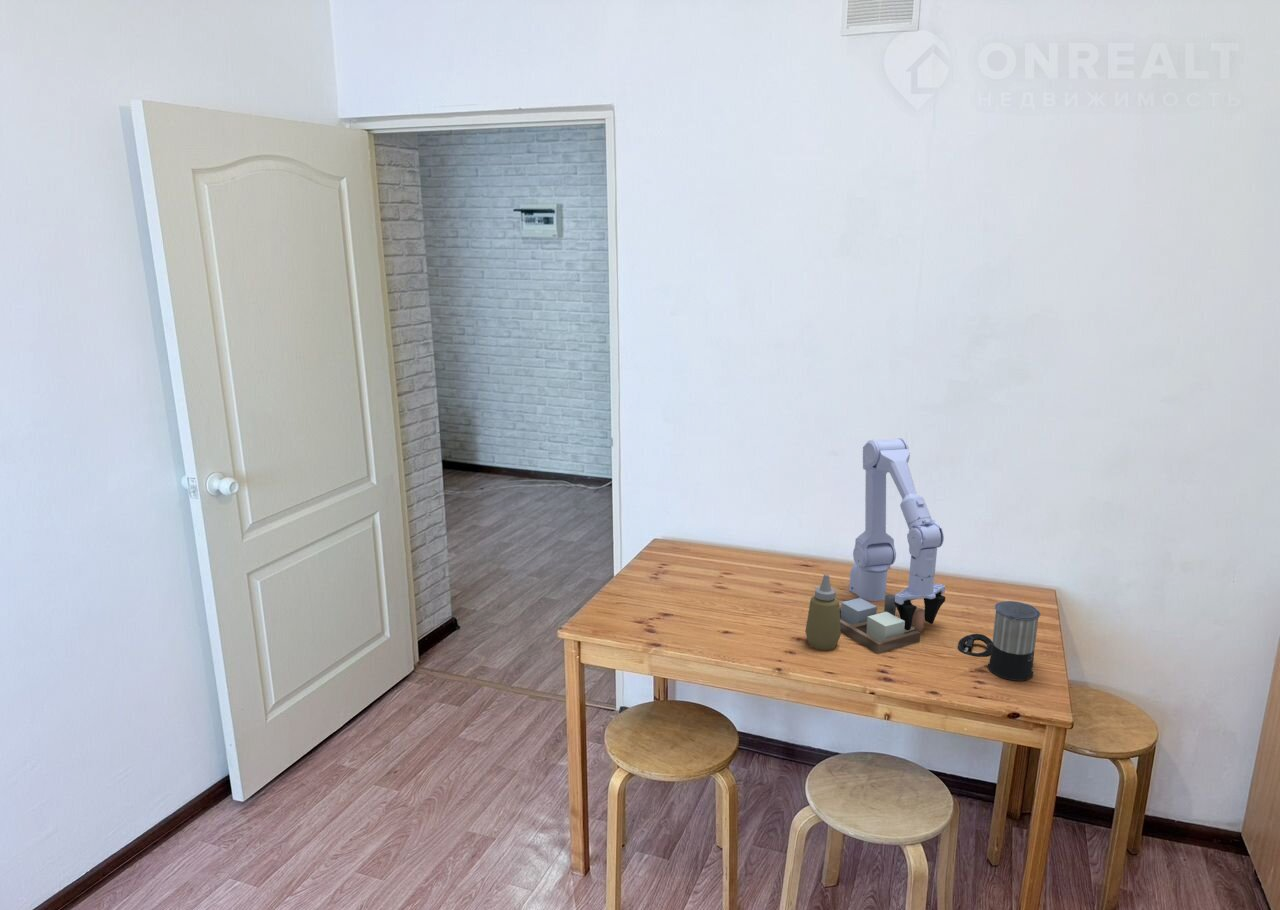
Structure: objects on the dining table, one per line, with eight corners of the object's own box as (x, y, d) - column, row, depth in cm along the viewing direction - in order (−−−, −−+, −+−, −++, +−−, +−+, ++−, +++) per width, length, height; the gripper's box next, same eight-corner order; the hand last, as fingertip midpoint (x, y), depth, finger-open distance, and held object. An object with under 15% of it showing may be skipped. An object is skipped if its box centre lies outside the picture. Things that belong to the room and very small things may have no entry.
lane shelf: (821, 624, 204) (822, 611, 203) (904, 602, 216) (905, 591, 216) (877, 657, 187) (878, 644, 186) (964, 632, 200) (965, 619, 199)
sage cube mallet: (866, 635, 196) (867, 616, 194) (912, 623, 202) (913, 604, 201) (884, 646, 190) (885, 626, 189) (930, 632, 197) (932, 613, 196)
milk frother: (1033, 685, 175) (1042, 621, 171) (955, 671, 181) (961, 609, 178) (1031, 656, 188) (1039, 596, 184) (958, 643, 194) (964, 585, 190)
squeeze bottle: (833, 658, 186) (837, 584, 182) (799, 649, 191) (803, 577, 186) (844, 644, 193) (849, 573, 189) (811, 636, 197) (815, 566, 193)
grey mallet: (840, 620, 204) (841, 602, 202) (885, 609, 210) (886, 591, 209) (856, 630, 198) (858, 611, 197) (902, 618, 205) (904, 599, 204)
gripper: (912, 584, 189) (907, 638, 192) (957, 573, 195) (951, 625, 199) (890, 573, 195) (885, 626, 198) (934, 563, 201) (929, 614, 205)
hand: (917, 625), depth 199 cm, fingers open, 7 cm apart
